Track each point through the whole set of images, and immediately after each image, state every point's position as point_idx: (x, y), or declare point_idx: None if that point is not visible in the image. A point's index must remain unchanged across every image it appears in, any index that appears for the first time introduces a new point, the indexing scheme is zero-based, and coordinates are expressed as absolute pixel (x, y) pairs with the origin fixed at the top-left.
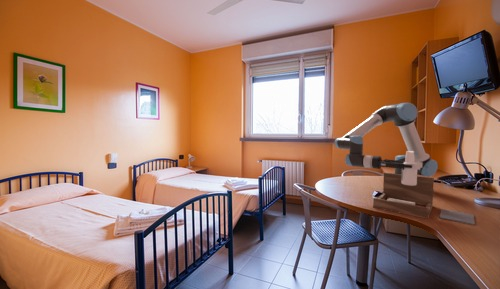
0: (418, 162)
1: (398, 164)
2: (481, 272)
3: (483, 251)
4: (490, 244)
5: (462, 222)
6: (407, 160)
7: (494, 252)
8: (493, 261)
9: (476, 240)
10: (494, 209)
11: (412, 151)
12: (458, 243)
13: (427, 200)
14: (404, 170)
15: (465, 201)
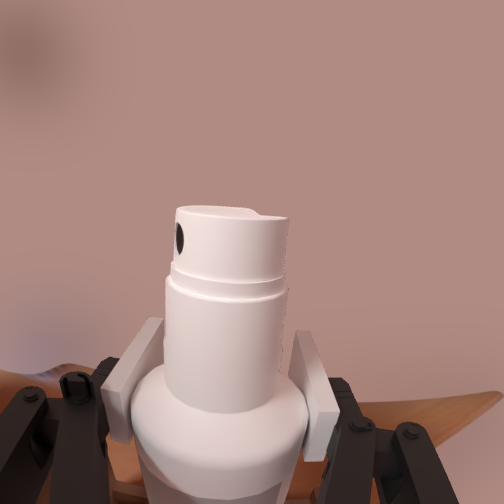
0: (156, 332)
1: (431, 455)
2: (490, 399)
3: (423, 409)
4: (377, 406)
5: None
6: (279, 366)
7: (409, 401)
8: (445, 398)
9: (381, 420)
10: (80, 366)
11: (232, 208)
12: (432, 433)
13: (110, 494)
14: (287, 485)
15: (18, 388)
